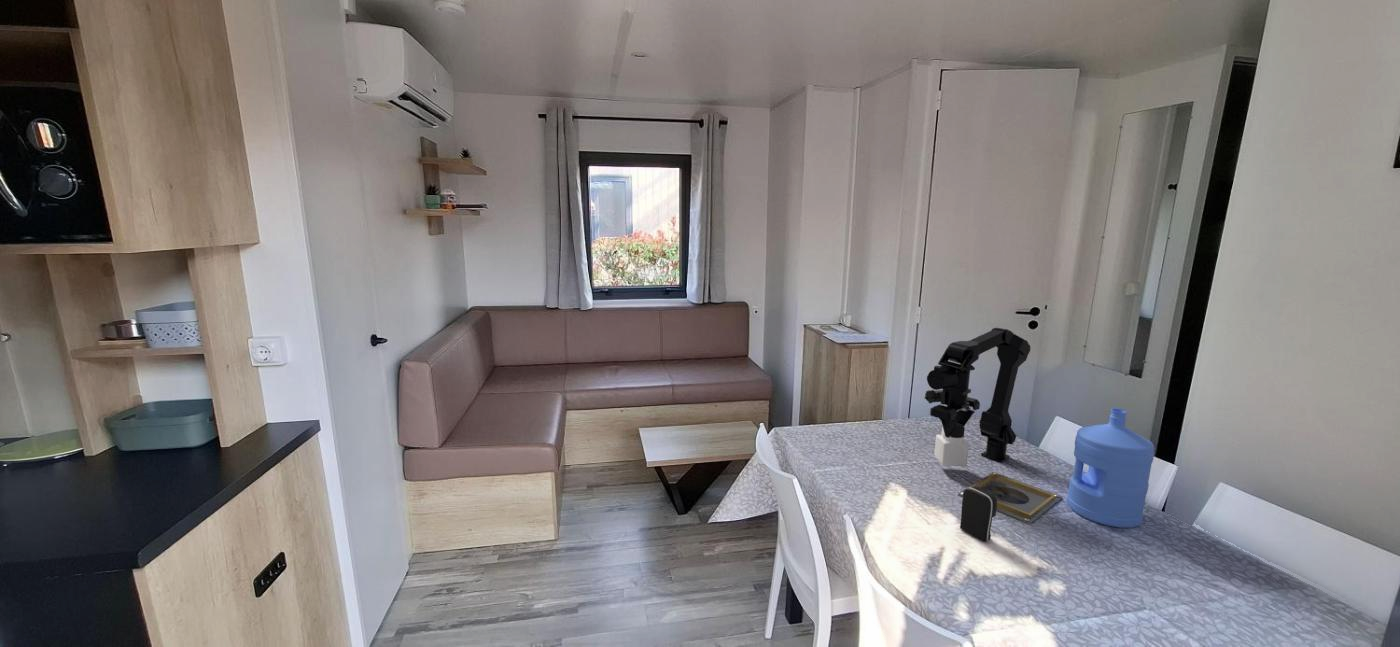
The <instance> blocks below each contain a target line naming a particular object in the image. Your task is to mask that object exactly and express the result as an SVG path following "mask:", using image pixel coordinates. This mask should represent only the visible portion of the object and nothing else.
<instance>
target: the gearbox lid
mask: <svg viewBox="0 0 1400 647" xmlns="http://www.w3.org/2000/svg"><path fill="white" fill-rule="evenodd" d="M973 486H976V487H978V488H981V489H983V490H985V491H987V492H989V493H991V494H993V495H994V496H995V497H996V499H997V510H996V512H998V513H1000V514H1003V515H1005V516H1008V517H1010V518H1012V519H1015V520H1018V521H1020V522H1022V523H1024V524H1028V525H1031V524H1033V523H1034V522H1035V521H1037V519H1039V518H1040V517H1041V516H1042V515H1043V514H1045V513H1047V511H1048V510H1050V508H1052V507H1053V506H1055V505H1056V504H1057V503H1058V502H1060V500H1062V499H1063V496H1061V495H1060V494H1057V493H1053V492H1051V491H1048V490H1045V489H1042V488H1039V487H1038V486H1034V485H1031V484H1028V483H1026V482H1024V481H1019V480H1017V479H1014V478H1011V477H1008V476H1006V475H1003V474H1000V473H998V472H992V473H990V474H988V475H986V476H985V477H983V478H981V479H979V480H978V481H976V482H975V483H973V484H971V485H970V486H968V487H967V488H969V487H973ZM964 490H965V489H963V490H961V491H960V492H958V493H957V496H959V497H961V498H963V493H964Z"/></svg>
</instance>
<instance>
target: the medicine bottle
mask: <svg viewBox="0 0 1400 647" xmlns="http://www.w3.org/2000/svg"><path fill="white" fill-rule="evenodd" d="M941 425H942V424H941ZM965 430H966V429H965V426H963V425H961V424H959V423H957V424H956V425H955V428H954V430H953V432H952V434H951V436H950V437H949V438H948V437H945V433H944V429H943V425H942V426H941V434H936V436H935V443H934V453H933V455H934V457H935V458H936V459H937V461H938V462H939V463H940V464H941V465H942V466H948V467H949V466H950V467H963V468H965V467H966V468H967V466H968V458H969V450H970V449H969V447H970V444H969V443H968V442H967V441H966V440H965V439H964V438H965Z"/></svg>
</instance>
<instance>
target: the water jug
mask: <svg viewBox="0 0 1400 647" xmlns="http://www.w3.org/2000/svg"><path fill="white" fill-rule="evenodd" d="M1127 414H1128V411H1127V410H1124V409H1120V408H1111V409H1110V415H1109V421H1108V423H1104V424H1095V425H1087V426H1081V427H1080V428H1078V429H1077V431H1076V435H1075V440H1074V450H1073V456H1074V457H1075V463H1074V469H1073V475H1072V476H1071V477H1070V478H1069V483H1068V485H1069V486H1068V490H1067V493H1066V494H1067V495H1066V503H1067V505H1068V507H1069V508H1070V509H1071V510H1072V511H1073V512H1075V513H1076V514H1078V515H1080V516H1081V517H1083V518H1085V519H1087V520H1090V521H1092V522H1095V523H1098V524H1101V525H1104V526H1107V527H1108V526H1109V527H1113V528H1114V527H1115V528H1119V529H1120V528H1121V529H1122V528H1125V529H1127V528H1129V529H1130V528H1131V529H1132V528H1135V527H1139V526H1140V525H1141V524H1142V523H1143V519H1144V509H1145V503H1146V499H1147V498H1146V497H1147V494H1148V490H1149V480H1150V475H1151V470H1152V464H1153V461H1154V457H1155V445H1154V444H1153V442H1152V441H1151V440H1149V439H1148V438H1146V437H1144V436H1142V435H1140V434H1139V433H1136V432H1135V431H1133V430H1131V429H1129V428H1128V427H1126V421H1127V417H1126V416H1127ZM1084 465H1087V466H1088V469H1087V471H1086V472H1084ZM1083 472H1084V473H1083Z"/></svg>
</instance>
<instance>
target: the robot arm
mask: <svg viewBox="0 0 1400 647" xmlns="http://www.w3.org/2000/svg"><path fill="white" fill-rule="evenodd" d="M993 348H996V349H997V352H996V356H997V357H998V360H999V363H1000V365H999V370H998V374H997V378H996V382H995V387H994V390H993V395H992V400H991V403H990V407H989V408H988V409H987V410H983V411H982V412H981V415H980V416H981V417H980V420H979V431H980V436H982V437H985V438H986V447H985V451H983V452H981V454H980V455H981V456H983V457H985V458H988V459H991V460H994V461H997V462H1001V463H1003V462H1004V461H1007V460H1008V459H1009V458H1011V456H1010V455H1009V454H1007V449H1008V445H1013V444H1014V443H1015V442H1016V438H1017V434H1016V432H1015V431H1014V430H1013V429H1012V424H1013V423H1012V422H1013V420H1012V418H1011V417H1012V416H1011V415H1010V413H1009V409H1010V404H1011V400H1012V396H1013V392H1014V388H1015V384H1016V383H1015V382H1016V378H1017V374H1018V370H1019V367H1020V366H1021V365H1023V364H1024V363H1025V362H1026V361H1027V359H1028V356H1029V354H1030V352H1031V345H1030V344H1029V342H1028V341H1027V340H1026V339H1024V338H1022V337H1020V336H1018V335H1017V334H1016V333H1014V332H1012V330H1010V329H1006V328H1001V327H993V328H992V329H991V330H990V331H988V332H986V333H983V334H980V335H979V336H976V337H974V338H972V339H969V340H957V341H953V342H950V343H949V345H948V346H947V347H946V349H945V351H944V353H943V354H942V356H941V357H940V360H939V361H938V362H937V365H934V366H933V370H931V371H929V372H928V374H927V375H926V381H927V384H928V386H929V388H931V390H929V389H928V390H926V391H925V394H924V395H925V396H924V400H926V401H927V402H928V404H932V403H940V404H937V405H935V406H932V407H931V408H930V409H929V410H930V411H929V416H931V417H935V418H937V419H939V420H940V422H941V425H943V429H944V433H945V437H948V438H949V437H950V436H951V434H952V432H953V430H954V428H955V425H956V424H957V423H959V424H961V425H963V426H964V427H965V426H966V424H967V423H968V422H969V420H970V419H971V418H972V417H973V415H974V414H975V412H976V411H977V410H980V407H981V403H980V401H979V400H978V399H976V398H975V397H974V398H973V397H969V396H968V394H970V393H971V392H972V389H971V388H969V387H970V377H971V372H972V371H974V370H975V366H973V365H972V364H974V363H975V362H977V361H978V360H979V359H980V355H981V354H983V353H985V352H988V351H990V350H992V349H993ZM971 408H972V409H971Z"/></svg>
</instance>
